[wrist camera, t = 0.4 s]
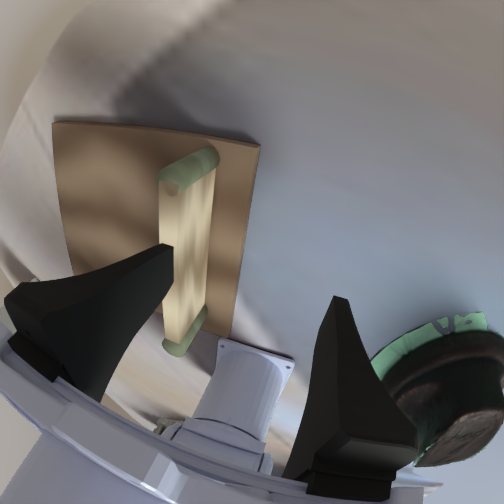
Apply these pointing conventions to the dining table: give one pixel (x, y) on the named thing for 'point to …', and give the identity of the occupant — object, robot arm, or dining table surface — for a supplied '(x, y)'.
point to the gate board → (149, 200)
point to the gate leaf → (186, 242)
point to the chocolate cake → (447, 387)
